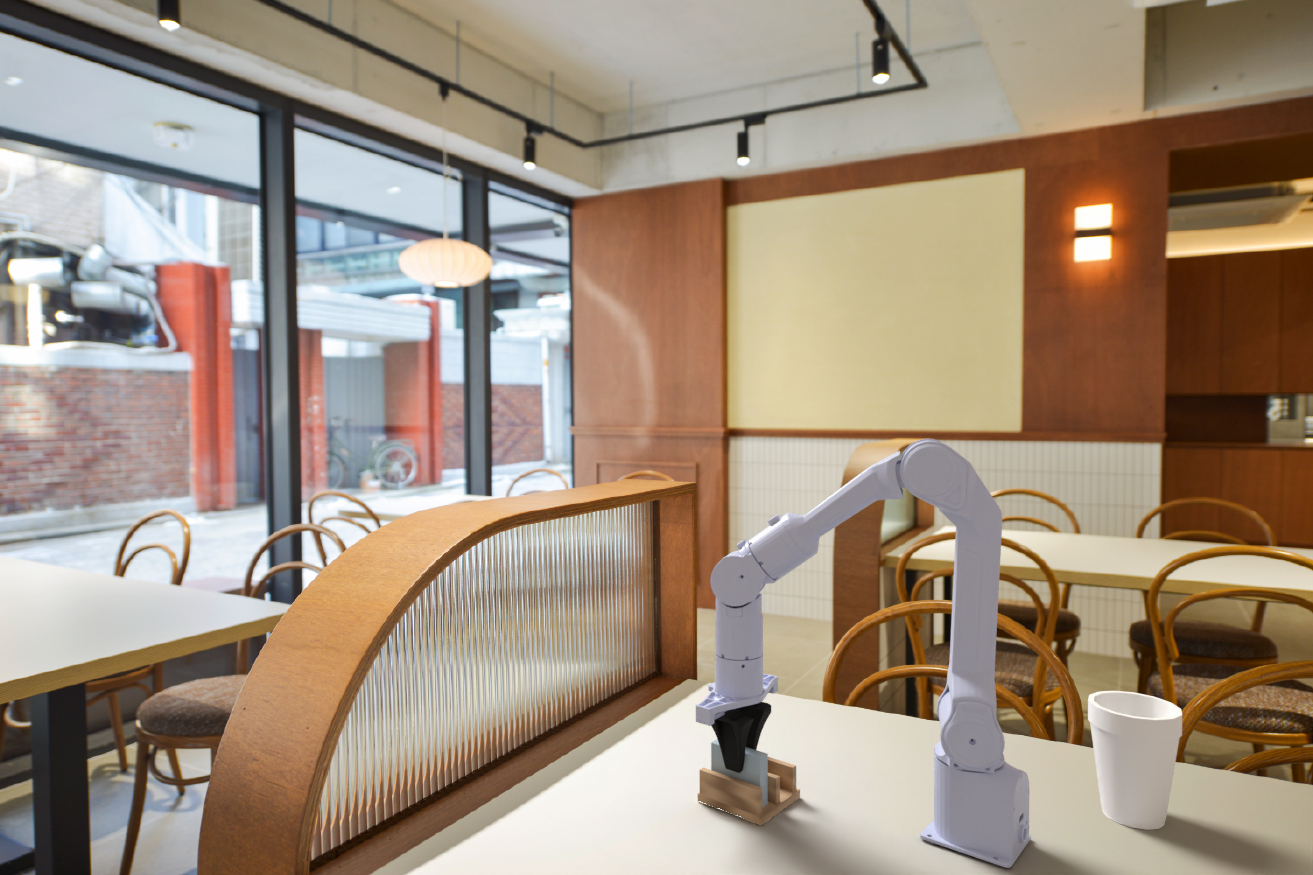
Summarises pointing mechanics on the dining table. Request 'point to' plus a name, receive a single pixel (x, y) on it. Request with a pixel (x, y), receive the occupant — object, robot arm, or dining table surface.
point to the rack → (750, 792)
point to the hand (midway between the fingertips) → (739, 766)
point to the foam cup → (1134, 755)
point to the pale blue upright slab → (745, 768)
